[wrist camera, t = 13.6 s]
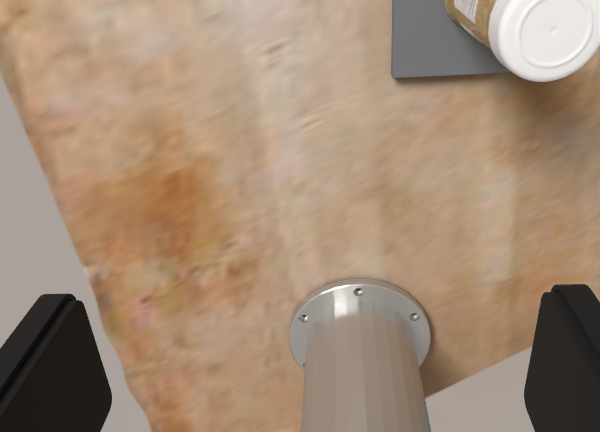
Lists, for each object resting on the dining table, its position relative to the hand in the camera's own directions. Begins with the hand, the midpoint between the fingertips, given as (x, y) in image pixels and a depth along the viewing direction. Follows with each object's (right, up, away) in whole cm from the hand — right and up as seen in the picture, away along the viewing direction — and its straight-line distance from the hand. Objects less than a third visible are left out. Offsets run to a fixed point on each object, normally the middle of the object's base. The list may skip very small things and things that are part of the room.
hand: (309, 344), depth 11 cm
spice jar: (+11, +17, +24) cm, 31 cm away
